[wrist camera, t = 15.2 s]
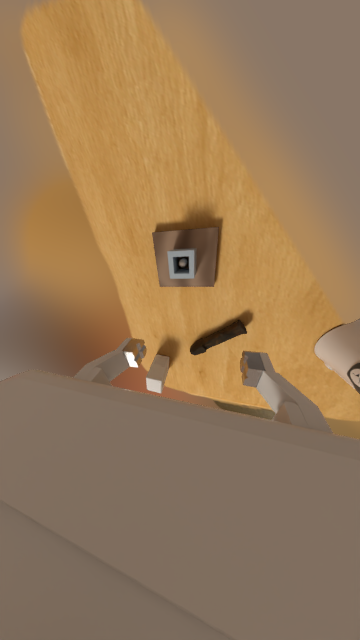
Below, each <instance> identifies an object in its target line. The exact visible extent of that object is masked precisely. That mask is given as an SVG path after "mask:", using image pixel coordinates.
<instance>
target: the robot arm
mask: <svg viewBox="0 0 360 640" xmlns="http://www.w3.org/2000/svg"><path fill="white" fill-rule="evenodd" d="M144 343H145V342H144V340H141V339H134V338H126V339H125V341H124V342H123V343H122V344H121V345H120V346H119V347H118V349H117V350H114V351H112V352H110V353H108V354H106V355H104V356H102V357H100V358H98V359H96V360H94V361H92V362H90V363H88V364H86V365H85V366H84V367H83V368H82V369H81V370H80V371H79V372H78V373H77V374H76V375H75V376H74V377H73V378H72V377H67V376H63V375H58V374H54V373H48V372H44V371H40V370H34V369H33V370H28V371H25V372H23V373H19V374H17V375H14V376H12V377H10V378H7V379H5V380H2V381H0V640H360V439H355V438H351V437H346V436H342V435H337V434H333V432H332V430H331V429H330V427H329V425H328V424H327V422H326V420H325V418H324V417H323V415H322V413H321V412H320V410H319V408H318V406H316V405H315V404H314V403H313V402H312V401H311V400H309V399H308V398H307V397H306V396H305V395H303V394H302V393H301V392H300V391H299V390H298V389H296V388H295V387H294V386H293V385H292V384H290V383H289V382H288V381H287V380H286V379H285V378H283V377H282V376H281V375H280V374H279V373H275V370H274V368H273V366H272V363H271V361H270V359H269V356H268V354H267V353H261V352H251V351H243V352H242V358H241V360H240V370H241V372H242V382H243V385H246V386H251V387H256V388H257V390H258V391H259V392H260V394H261V395H262V396H263V398H264V399H265V400H266V401H267V403H268V404H269V405H270V407H271V408H272V409H273V411H274V412H275V413H276V415H275V416H274V418H273V419H272V420H267V419H263V418H258V417H253V416H249V415H244V414H239V413H235V412H230V411H225V410H221V409H216V408H212V407H207V406H202V405H198V404H192V403H188V402H184V401H179V400H174V399H169V398H165V397H160V396H156V395H151V394H146V393H141V392H137V391H132V390H127V389H123V388H118V387H114V386H112V385H111V383H110V381H111V380H113V379H114V378H115V377H117V376H118V375H119V374H121V373H122V372H123V371H124V370H126V369H127V368H128V367H129V366H131V367H139V365H140V363H141V362H142V360H141V359H142V358H144V357H145V355H146V346H145V345H144ZM315 354H316V355H317V357H318V358H320V359H321V360H323V361H324V363H325V365H326V367H327V368H329V369H330V370H334V371H335V372H336V373H337V374H338V375H339V376H340V377H341V378H343V379H344V380H345V381H346V382H347V383H348V384H349V385H351V386H352V387H353V388H354V389H356V391H357V392H358V393H359V394H360V319H358V320H356V321H355V322H352V323H349V324H345V325H342V326H340V327H337V328H335V329H333V330H331V331H329V332H328V333H326V334H325V335H323V336H322V337H321V338H320V339H319V340H318V342H317V343H316V345H315Z"/></svg>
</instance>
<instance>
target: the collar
mask: <svg viewBox="0 0 360 640" xmlns="http://www.w3.org/2000/svg"><path fill="white" fill-rule="evenodd" d="M167 253H168V263H169V274H170V279H190V278H195V275H196V248H191V249H173V250H170V251H167ZM184 256H189V269H179V264H178V257H184Z"/></svg>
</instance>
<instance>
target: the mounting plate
mask: <svg viewBox="0 0 360 640" xmlns="http://www.w3.org/2000/svg"><path fill="white" fill-rule="evenodd" d="M218 229H219V227H213V228H201V229H189V230H177V231H165V232H153V233H152V235H153V242H154V249H155V256H156V263H157V270H158V277H159V284H160V287H214V280H215V267H216V254H217V242H218ZM191 248H196V275H195V278H190V279H170V274H169V263H168V253H167V251H170V250H173V249H191ZM178 264H179V269H189V256H184V257H178Z"/></svg>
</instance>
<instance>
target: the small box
mask: <svg viewBox="0 0 360 640" xmlns="http://www.w3.org/2000/svg"><path fill="white" fill-rule="evenodd" d="M168 370H169V357H167V356H162V355H157V354H156V356H155V358H154V360H153V363H152V365H151V367H150V370H149V372H148V374H147V376H146V382H147V390H150V391H154V392H158V393H161V392H162V389H163V386H164V383H165V380H166V376H167V373H168Z"/></svg>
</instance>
